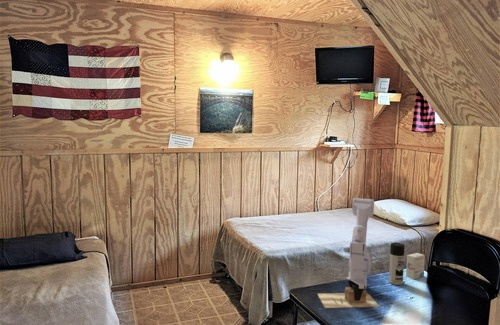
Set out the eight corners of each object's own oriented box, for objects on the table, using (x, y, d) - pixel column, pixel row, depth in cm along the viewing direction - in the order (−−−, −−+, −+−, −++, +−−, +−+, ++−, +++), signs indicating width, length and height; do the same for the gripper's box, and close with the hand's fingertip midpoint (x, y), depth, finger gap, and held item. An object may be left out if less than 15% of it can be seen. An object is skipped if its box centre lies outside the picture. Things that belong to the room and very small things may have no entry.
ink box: (416, 273, 216) (417, 252, 214) (424, 276, 211) (425, 254, 210) (405, 276, 211) (406, 254, 210) (413, 279, 207) (414, 257, 206)
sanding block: (344, 298, 179) (345, 287, 179) (362, 297, 180) (362, 287, 179) (347, 302, 175) (348, 291, 174) (365, 302, 175) (366, 291, 175)
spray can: (395, 286, 198) (397, 246, 196) (385, 281, 204) (387, 242, 202) (405, 284, 201) (408, 245, 199) (395, 279, 207) (397, 241, 205)
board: (316, 296, 184) (317, 293, 184) (367, 296, 186) (368, 292, 186) (324, 310, 170) (324, 307, 170) (379, 310, 172) (379, 306, 172)
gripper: (342, 262, 183) (341, 290, 184) (353, 274, 168) (351, 305, 170) (357, 262, 183) (356, 290, 185) (369, 274, 169) (368, 305, 170)
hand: (355, 297), depth 177 cm, fingers closed on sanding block, 4 cm apart
